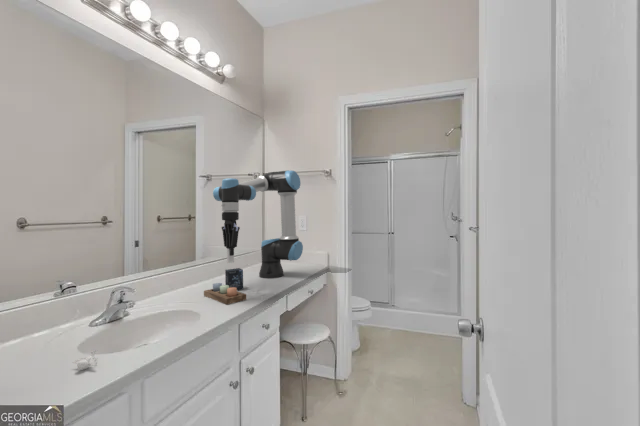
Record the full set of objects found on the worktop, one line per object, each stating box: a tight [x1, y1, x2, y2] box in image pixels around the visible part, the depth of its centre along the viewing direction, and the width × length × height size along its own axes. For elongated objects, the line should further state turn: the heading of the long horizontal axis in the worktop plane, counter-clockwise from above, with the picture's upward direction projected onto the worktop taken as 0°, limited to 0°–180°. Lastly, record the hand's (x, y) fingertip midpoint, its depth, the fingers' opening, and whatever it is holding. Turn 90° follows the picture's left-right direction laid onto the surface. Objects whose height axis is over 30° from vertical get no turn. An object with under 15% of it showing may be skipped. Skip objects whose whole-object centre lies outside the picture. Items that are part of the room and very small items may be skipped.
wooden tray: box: [203, 288, 247, 305], centre depth 149 cm, size 10×22×2 cm, turn 45°
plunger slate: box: [212, 282, 223, 292], centre depth 154 cm, size 4×4×4 cm
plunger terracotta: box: [227, 287, 238, 297], centre depth 144 cm, size 4×4×4 cm
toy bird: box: [72, 349, 98, 371], centre depth 83 cm, size 8×5×5 cm, turn 78°
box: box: [224, 267, 244, 291], centre depth 164 cm, size 8×6×11 cm
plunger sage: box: [220, 284, 229, 294], centre depth 149 cm, size 4×4×4 cm
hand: (230, 262), depth 146 cm, fingers closed
